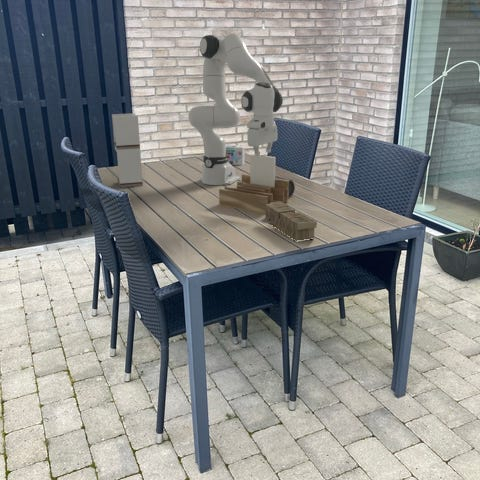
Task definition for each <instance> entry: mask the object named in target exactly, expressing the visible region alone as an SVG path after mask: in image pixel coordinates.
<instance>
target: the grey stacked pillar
mask: <svg viewBox="0 0 480 480" xmlns="http://www.w3.org/2000/svg"><path fill="white" fill-rule="evenodd" d="M111 118H112V120H111V121H112V130H113V132H112V133H113V142H114V150H115V152H116V157H117V170H118V171H117V172H118V178H117V184H118V186H119V188H120V187H121V188H130V187H131V186H134V187H142V186H144V185H143V184H144V183H143V170H142V168H143V167H142V157H141V155H142V154H141V144H140V143H141V142H140V129H139V128H140V127H139V125H140V124H139V116H138V114H136V113H117V114H115V113H114V114H113V113H112V114H111ZM131 188H132V187H131Z"/></svg>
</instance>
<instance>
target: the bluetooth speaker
mask: <svg viewBox="0 0 480 480" xmlns="http://www.w3.org/2000/svg"><path fill="white" fill-rule="evenodd" d="M275 178H276V179H282V180H289V196H288V198H290V197H292V196H293V195H294V193H295V189H296V185H295V183H294V181H293V180H292V179H289V178H286V177H282V176H278V175H275Z"/></svg>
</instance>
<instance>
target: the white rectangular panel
mask: <svg viewBox="0 0 480 480" xmlns="http://www.w3.org/2000/svg"><path fill="white" fill-rule="evenodd" d="M249 156H250V162H249V165H250V166H249V169H250V170H249V171H250V172H249V173H250V174H249V175H250V184H256V185H263V186H269V187H275V176H276V164H277V163H276V162H277V161H276V156H269V155H263V154H262V155H261V154H260V155H259V156H255V153H254V154H253V153H252V154H250V155H249Z"/></svg>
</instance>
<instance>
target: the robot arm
mask: <svg viewBox="0 0 480 480" xmlns="http://www.w3.org/2000/svg"><path fill="white" fill-rule="evenodd" d="M199 51H200V55H201V56H202V57H203V58H204V60H203V61H204V62H203V68H202V91H203V94H204V96H206V97H207V98H209V99H211V100H213V101H214V102H215V105H199V106H193V107H192V108H191V109H190V110H189V112H188V117H187V118H188V122H189V123H190V125H191V127H193V128H194V129H195V130H197V132H199V134H200V136H201V138H202V142H203V153H204V154H203V156H202V157H203V160H202V161H203V165H202V169H201V171H202V174H201V177H200V181H201V183H202V184H203V185H208V186H221V185H222V186H223V185H232V184H233V183H235V182H238V180H240V179H241V177H240V175H237V173H236V168H235V167H234V165H231V164H230V163H229V162H228V159H230V157H231V156H230V155H226V146H227V143H226V140H225V138H224V137H223V136H222V135H220V134H217V133H216V132H215V131H214V129H229V128H235V127H237V126H238V125H239V122H240V119H241V114H240V111H239V110H238V108H237V107H235V105H234V104H233V103H231V101H230V99H229V97H228V95H227V90H226V71H225V70H226V65H227V68H229V70H230V71H231V73H233V74H235V75H238V76H241V77H246V78H249V79H252V80H254V81H255V82H257V83H255V84H254V87H252V88H251V89H249V90H246V91H244V92H243V94H242V95H241V107H242V109H243V110H244V111H245V112H247V113H253V116H252V118H251V119H250V120H249V121H248V122H247V124H246V127H247V128H248V129H247V134H246V135H247V137H246V138H247V145H248V146H249V147H253V151H254V154H255V156H259V155H261V151H260V149H259V148H260V146H263V145H267V146H266V148H265V153H267V154H269V153H271V152H272V147H273V143H274V142H277V141H278V136H279V135H278V126H277V124H276V121H275V120H274V119H275V115H274V114H275V113H276V112H278V111H279V110H280V109H281V107H282V106H283V95H282V93H281V92H280V91H279V89H277V87H276V86H275V85H274V82H273V81H272V80H271V78H270V76H269V75H268V73H267V71H266V70H265V68H264V67H263V65H262V64H261V63H260V62H258V61H257V60H256V59H254V57H253V56H252V55H251V54H250V51H249V50H248V48H247V45H246V43H245V42H244V40H243V39H242V37H241V36H240V35H239V34H237V33H229V34H227V35H214V34H207V35H204V36H203V37H202V38H201V40H200V41H199ZM227 158H228V159H227Z"/></svg>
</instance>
